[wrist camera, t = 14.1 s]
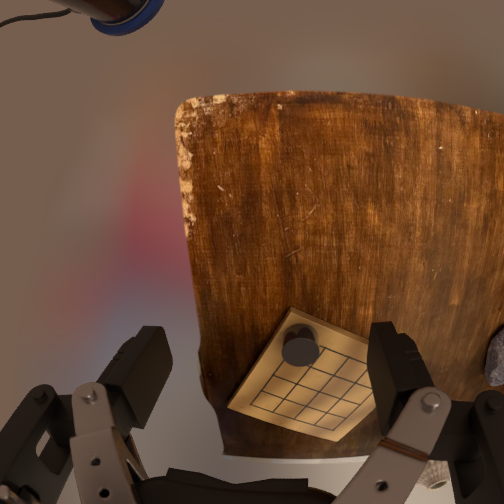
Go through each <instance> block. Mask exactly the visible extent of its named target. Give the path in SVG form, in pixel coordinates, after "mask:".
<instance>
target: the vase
mask: <svg viewBox="0 0 504 504" xmlns="http://www.w3.org/2000/svg"><path fill="white" fill-rule="evenodd" d="M449 481H450V472H449V468H448V463H447V461H433V460H428V462H427V464H426V466H425V468H424V470H423V472H422V474H421V475H420V477H419V479H418V481H417V483H416V485H419V486H423V487H425V488H426V489H427V490H428V491H433V490H437V489H440V488H442V487H443V486H445V485H447V484H448V482H449Z"/></svg>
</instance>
